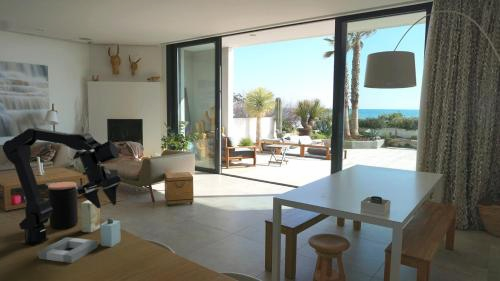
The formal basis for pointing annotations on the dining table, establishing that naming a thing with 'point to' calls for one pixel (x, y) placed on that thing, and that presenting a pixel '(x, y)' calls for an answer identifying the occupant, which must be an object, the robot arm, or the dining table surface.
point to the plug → (110, 232)
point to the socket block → (58, 254)
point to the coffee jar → (63, 205)
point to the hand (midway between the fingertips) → (107, 206)
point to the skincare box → (90, 217)
